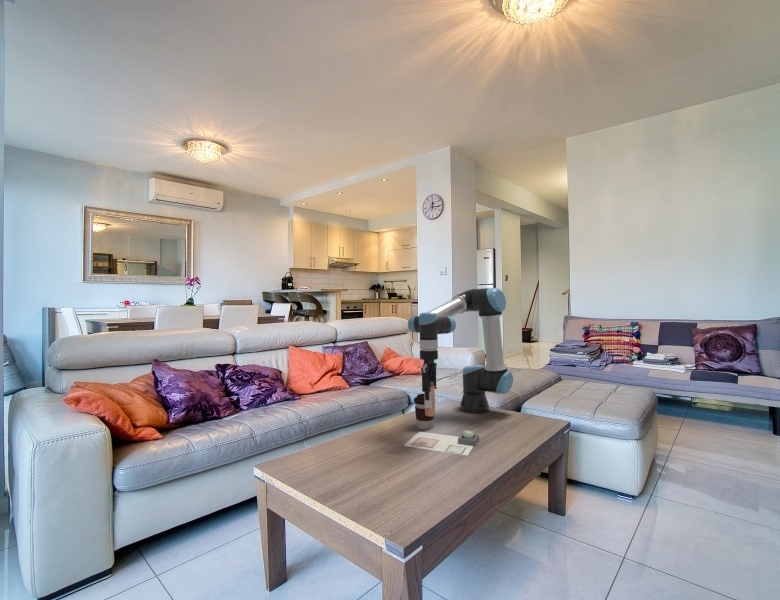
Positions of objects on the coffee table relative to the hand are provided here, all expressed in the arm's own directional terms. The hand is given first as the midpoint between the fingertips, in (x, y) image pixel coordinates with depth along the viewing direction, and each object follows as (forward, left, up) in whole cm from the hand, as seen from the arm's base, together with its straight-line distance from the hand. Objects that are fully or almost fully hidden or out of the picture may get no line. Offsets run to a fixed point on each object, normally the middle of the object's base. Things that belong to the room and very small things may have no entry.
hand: (429, 406), depth 157 cm
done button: (-5, +15, -14) cm, 21 cm away
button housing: (-5, +15, -14) cm, 21 cm away
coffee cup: (-16, -8, -15) cm, 23 cm away
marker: (0, 0, -4) cm, 4 cm away
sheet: (0, +5, -15) cm, 16 cm away
